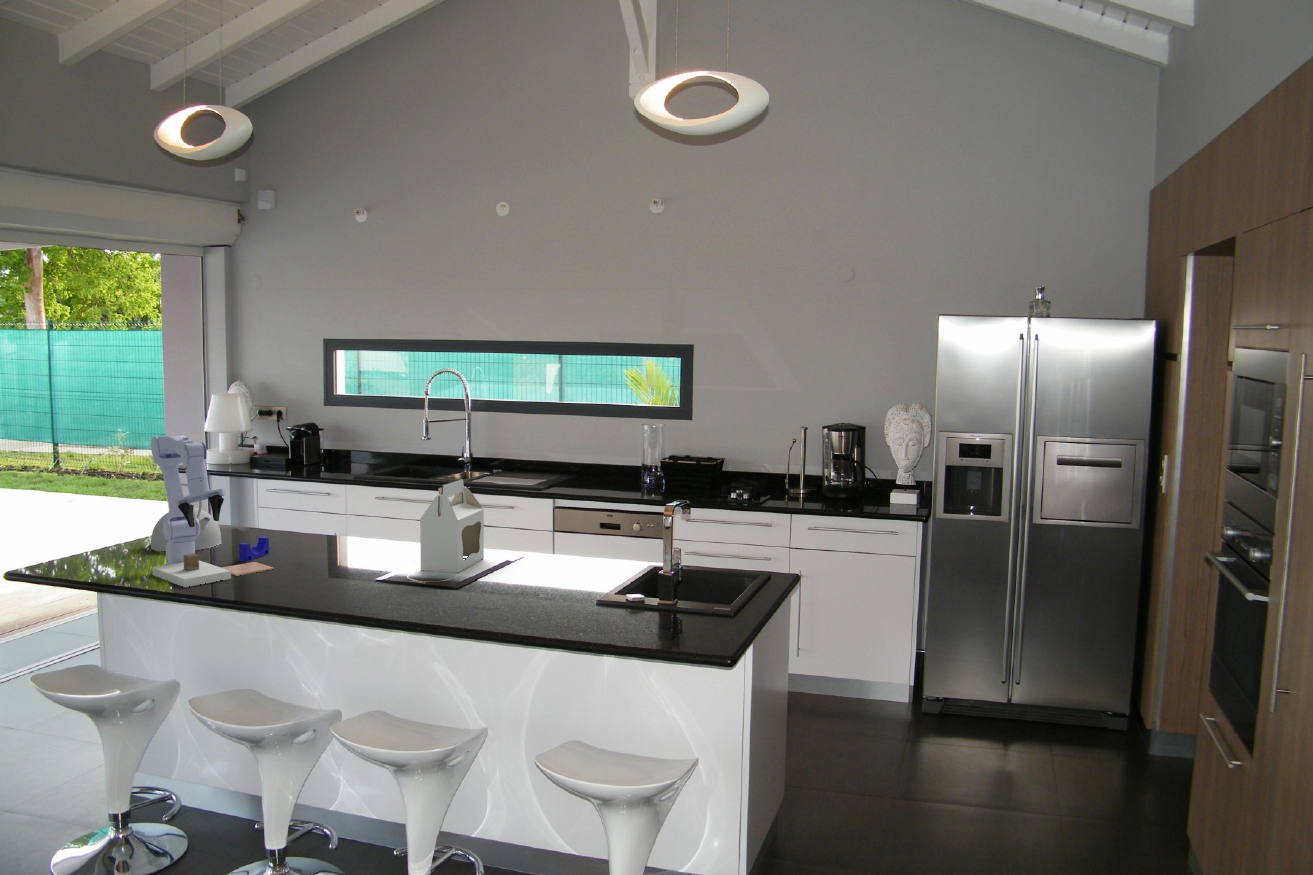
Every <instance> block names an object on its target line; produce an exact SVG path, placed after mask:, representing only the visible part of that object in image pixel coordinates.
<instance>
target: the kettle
mask: <svg viewBox="0 0 1313 875" xmlns="http://www.w3.org/2000/svg"><path fill="white" fill-rule="evenodd" d="M181 485H182V487H183V486H184V487H188V483H183V482H181ZM202 501H203V500H202ZM202 501H198V503H199V504H198V507H195V506H194V509H193V512H194V513H195V514H196V516H197V519H198V521H199V524H200V534H199V535H198V537H196V540H195V552H197V551H196V550H198V551H202V550H201V549H204V550H206V549H205V548H209V549H212V548H211V547H213V548H215V547H214V546H216V545H219V544H221V545H222V543H221V542H222V533H221V529H220V526H219V524H218V521H214V519H213V515H211V514H210V513H209V512H207V511H206V510H203V509H202V506H203V504H202ZM169 513H170V510H169V511H168V512H166V513H165V514H163V516H161V518H159V520H158V521H156V523H155V524H154V527H153V529H152V533H151V538H150V539H151V540H150V543H151V544H150V546H151V547H150V549H151V550H153V551H154V552H155V551H156V552H161V551H166V544H167V543H168V540H166V539H165V537H164V533H163V519H164V517H165V516H166V515H167V514H169ZM219 546H220V545H219ZM216 547H217V546H216Z"/></svg>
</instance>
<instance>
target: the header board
mask: <svg viewBox="0 0 1313 875" xmlns="http://www.w3.org/2000/svg"><path fill="white" fill-rule="evenodd" d="M163 565H164V564H163ZM163 565H158V566H153V567H152V576H154V577H156V578H160V579H162V580H164V581H167V580H168V581H167V582H170V583H172V584H175V585H177V586H180V587H182V586H183V587H182V588H189V586H190V587H194V586H200V584H201V585H205V583H206V584H212V583H217V582H221V581H220V580H223V581H227V580H232V574H231V571H229V570H226V569H223V568H222V567H221V566H218V565H213V564H211V563H209V562H205V561H202V560H200V559H199V569H198V570H192V571H186V570H184V562H182V563H176V564H170V565H164V566H163ZM216 581H217V582H216Z"/></svg>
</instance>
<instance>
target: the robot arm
mask: <svg viewBox="0 0 1313 875" xmlns="http://www.w3.org/2000/svg"><path fill="white" fill-rule="evenodd" d="M150 448H151V449H150V450H151V454H152V456H151V457H152V460H153V462H154V464H155V465H158V467H160V469H161V473H162V477H163V482H164V488H165V492H166V497H167V501H168V508H169V511H170V513H169V514H167V515H166V516H165V517H164V519H163V533H164V537H165V539H166V540H168V543H167V544H166V552H165V564H162V566H164V565H170V564H176V563H182V562H184V556H183V555H188V554H196V551H195V540H196V537H198V535H199V534H200V524H199V521H198V519H197V516H196V514H195V513H194V512H193V509H194V507H195V506H194V504H192V503H197V502H198V503H199V501H206V500H208V501H209V505H210V508H211V512H212V517H213V519H214V521H216V522H219V521H220V515H221V510H222V509H221V508H222V506H223V503H224V501H225V498H224V497H225V496H226V491H225V489H224V488H218V489H213V490H211V489H210V486H209V477H208V473H207V466H206V460H207V456H208V454H207V451H208V450H207V446H206V444H205V442H203V441H202V442H201V441H200V442H195V441H194V440H192V439H190V438H189V437H188V436H186V435H184V434H180V435H164V436H157V435H154V436H152V438H151V440H150ZM181 464H182V466H183V468H184V469H185V475H186V482H187V484H188V486H187V488H188V494H189V495H186V496H184V491H183V486H182V485H181V483H182V481H181V476H180V473H179V465H181Z"/></svg>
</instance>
